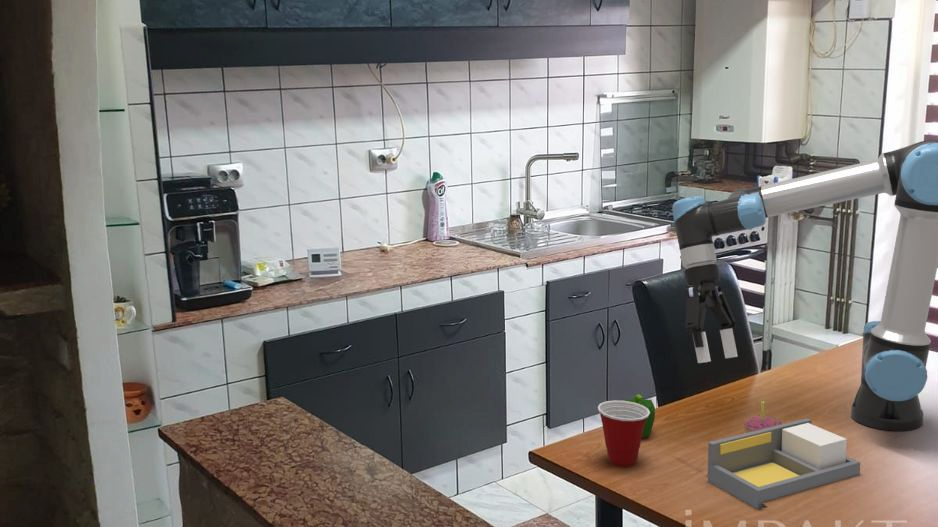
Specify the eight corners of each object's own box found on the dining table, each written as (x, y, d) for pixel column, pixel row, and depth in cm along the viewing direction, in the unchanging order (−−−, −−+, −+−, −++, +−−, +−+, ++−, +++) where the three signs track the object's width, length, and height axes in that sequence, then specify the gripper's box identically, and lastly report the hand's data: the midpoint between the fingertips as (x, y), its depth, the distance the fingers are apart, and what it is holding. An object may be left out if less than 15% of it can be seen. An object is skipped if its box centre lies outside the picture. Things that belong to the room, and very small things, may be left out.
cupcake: (779, 459, 186) (780, 404, 184) (738, 451, 191) (739, 398, 188) (788, 444, 193) (790, 392, 191) (749, 438, 198) (750, 386, 195)
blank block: (806, 454, 185) (808, 422, 184) (845, 472, 176) (846, 439, 175) (781, 461, 182) (782, 429, 181) (818, 479, 173) (820, 446, 172)
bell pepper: (618, 426, 207) (618, 386, 205) (654, 428, 205) (655, 387, 203) (617, 440, 199) (617, 398, 197) (654, 442, 197) (654, 399, 195)
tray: (805, 454, 188) (807, 418, 186) (859, 479, 175) (861, 440, 174) (707, 481, 177) (708, 442, 176) (757, 509, 165) (758, 468, 163)
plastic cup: (649, 473, 181) (650, 418, 179) (596, 470, 184) (596, 415, 181) (650, 452, 192) (650, 399, 190) (599, 450, 194) (599, 397, 192)
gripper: (709, 269, 211) (727, 357, 208) (658, 269, 192) (676, 366, 189) (739, 262, 206) (757, 353, 203) (689, 262, 187) (708, 362, 184)
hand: (718, 360), depth 196 cm, fingers open, 13 cm apart
